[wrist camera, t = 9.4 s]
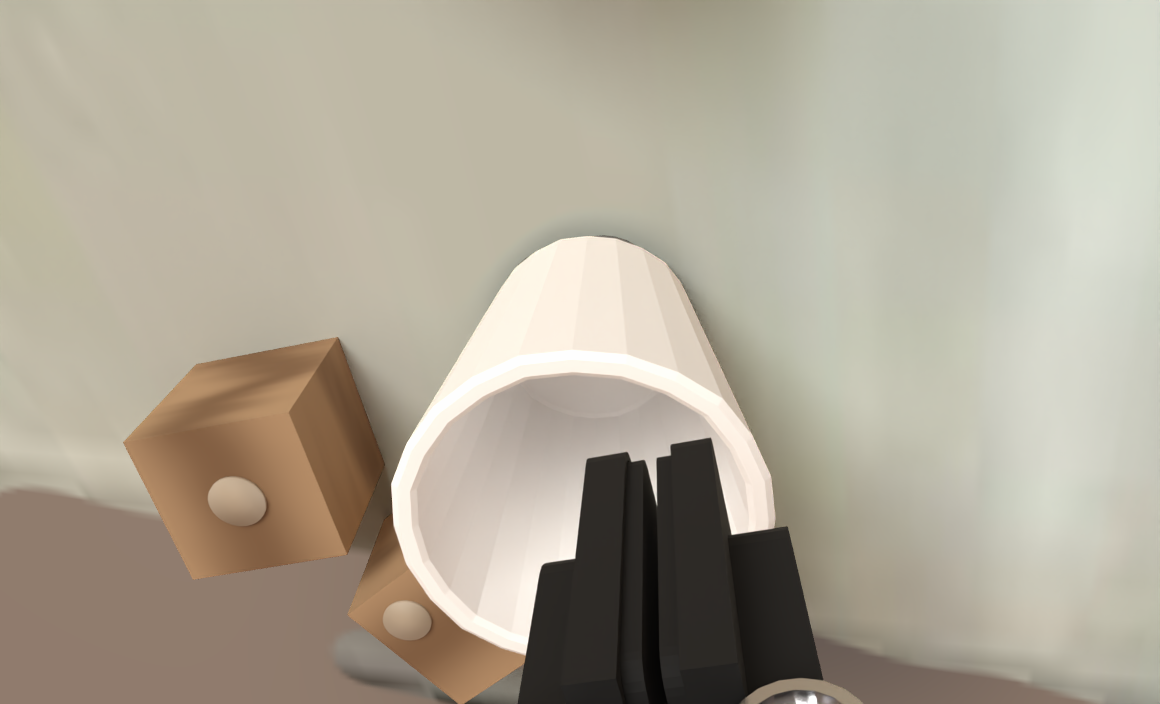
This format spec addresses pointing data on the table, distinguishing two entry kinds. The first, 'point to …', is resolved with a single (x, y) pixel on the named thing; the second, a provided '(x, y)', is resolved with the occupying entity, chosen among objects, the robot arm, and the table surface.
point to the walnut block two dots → (423, 626)
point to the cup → (560, 427)
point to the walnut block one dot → (260, 459)
